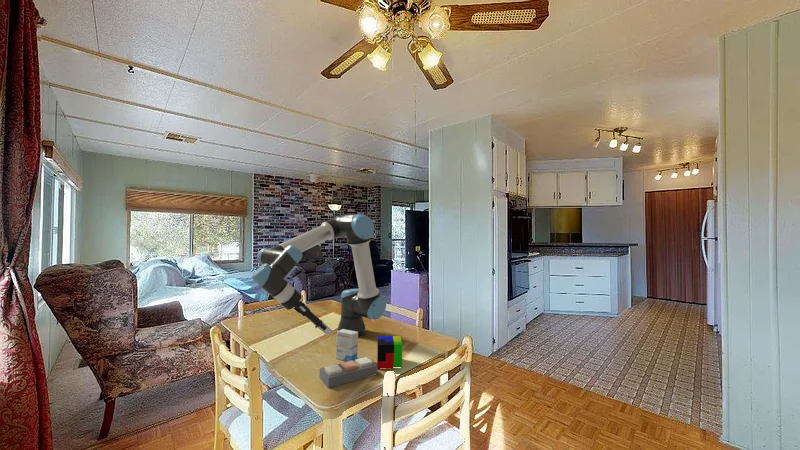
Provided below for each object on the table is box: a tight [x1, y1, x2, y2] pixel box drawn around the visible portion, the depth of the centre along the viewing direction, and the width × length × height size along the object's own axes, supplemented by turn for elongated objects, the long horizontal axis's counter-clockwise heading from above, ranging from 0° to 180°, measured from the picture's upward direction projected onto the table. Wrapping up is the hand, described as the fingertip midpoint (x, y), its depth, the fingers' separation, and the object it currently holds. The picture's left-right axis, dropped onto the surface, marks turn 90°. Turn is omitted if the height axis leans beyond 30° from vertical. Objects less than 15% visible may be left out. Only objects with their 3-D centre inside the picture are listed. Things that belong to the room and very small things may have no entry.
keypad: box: [319, 359, 378, 389], centre depth 121 cm, size 20×9×4 cm, turn 124°
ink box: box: [335, 329, 359, 362], centre depth 137 cm, size 9×5×12 cm, turn 65°
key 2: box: [355, 356, 373, 367], centre depth 125 cm, size 5×5×2 cm
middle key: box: [339, 361, 358, 371], centre depth 121 cm, size 5×5×2 cm
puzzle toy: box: [376, 335, 403, 370], centre depth 133 cm, size 10×10×10 cm
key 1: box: [323, 363, 342, 376], centre depth 118 cm, size 5×5×2 cm
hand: (324, 328), depth 131 cm, fingers open, 13 cm apart
